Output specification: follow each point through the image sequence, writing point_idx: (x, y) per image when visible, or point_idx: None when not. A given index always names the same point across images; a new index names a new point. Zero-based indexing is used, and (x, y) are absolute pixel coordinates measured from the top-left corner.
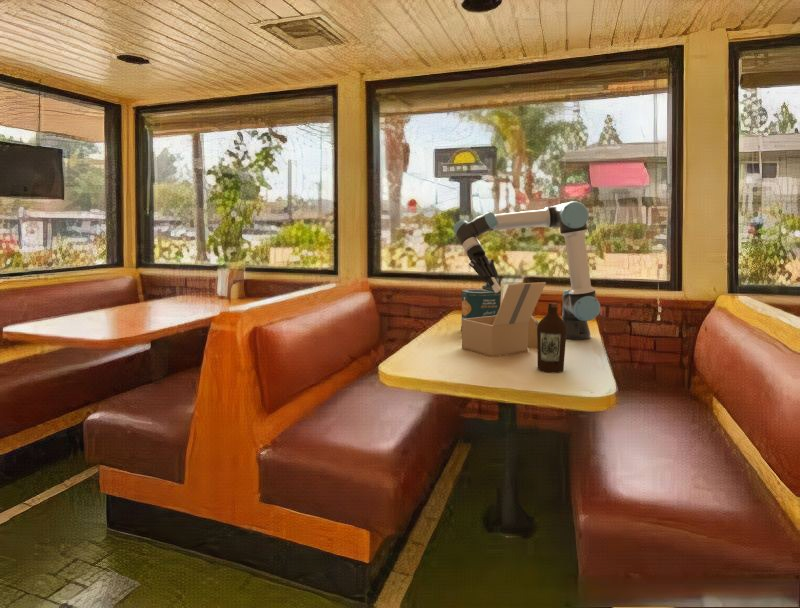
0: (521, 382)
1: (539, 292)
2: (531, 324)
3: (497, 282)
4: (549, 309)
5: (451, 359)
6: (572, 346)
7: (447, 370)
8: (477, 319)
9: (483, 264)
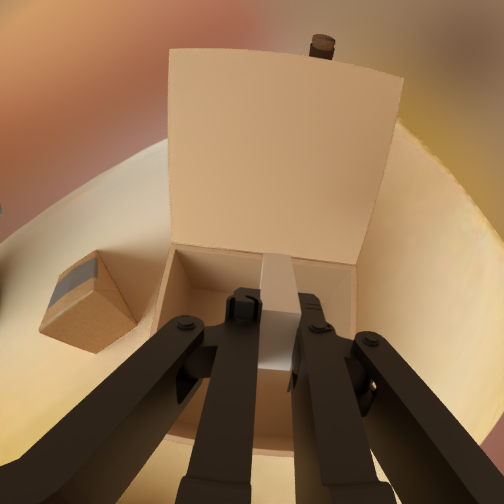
0: (397, 150)
1: (184, 99)
2: (105, 291)
3: (241, 293)
4: (333, 52)
5: (424, 341)
6: (60, 248)
7: (468, 269)
8: (260, 447)
9: (356, 487)
